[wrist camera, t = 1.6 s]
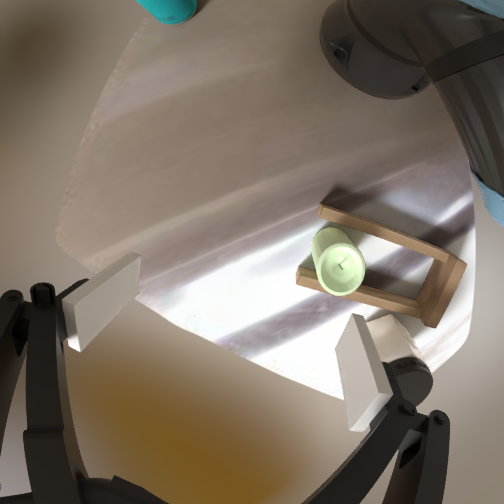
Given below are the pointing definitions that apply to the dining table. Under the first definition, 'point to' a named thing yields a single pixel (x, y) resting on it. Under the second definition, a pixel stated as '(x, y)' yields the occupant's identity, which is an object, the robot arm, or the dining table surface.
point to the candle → (337, 261)
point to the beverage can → (170, 10)
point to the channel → (424, 307)
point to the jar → (402, 357)
